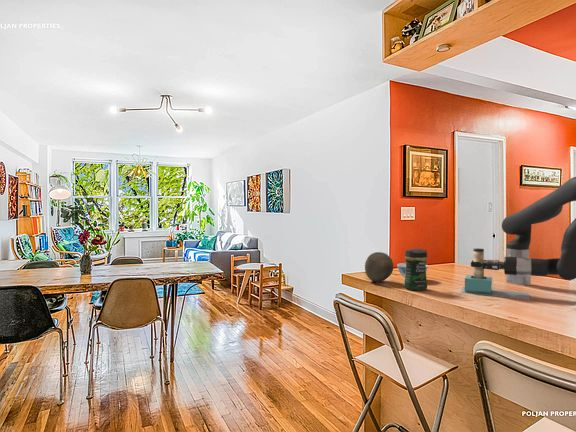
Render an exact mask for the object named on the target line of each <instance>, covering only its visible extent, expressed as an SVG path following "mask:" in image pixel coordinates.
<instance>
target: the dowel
mask: <svg viewBox="0 0 576 432" xmlns="http://www.w3.org/2000/svg"><path fill="white" fill-rule="evenodd" d="M484 255H485V249H484V248H473V255H472V256H473V262H484V260H485V256H484ZM472 268H473V269H472V270H473V272H472V273H473V274H472V275H473V278H476V279H484V276H485V269H482V268H481V267H472Z"/></svg>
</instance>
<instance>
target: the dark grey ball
mask: <svg viewBox="0 0 576 432" xmlns="http://www.w3.org/2000/svg"><path fill="white" fill-rule="evenodd" d="M364 271H365V274H366V276H367V278H368V279H369V280H370V281H372V282H374V283H380V282H381V283H382V282H384V281H385V280H386V281H387V279H388V278H390V277H391V275H392V274H393V271H394V262H393V259H392V258H391V256H389V255H388V253H386V252H381V251H377V252H373V253H371V254H369V255H368V257H367V258H366V260H365V263H364Z"/></svg>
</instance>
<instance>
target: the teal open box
mask: <svg viewBox="0 0 576 432" xmlns="http://www.w3.org/2000/svg"><path fill="white" fill-rule="evenodd" d="M464 287H465V292H466V293H465V294H467V293H476V294H475V295H477V294H486V295H485V296H488V295H491V294H492V290H493V276H489V275H484V279H476V278H473V274H466V275H465V277H464Z"/></svg>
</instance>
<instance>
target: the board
mask: <svg viewBox="0 0 576 432" xmlns="http://www.w3.org/2000/svg"><path fill="white" fill-rule="evenodd" d="M460 294H466V295H467V294H469V295H480V296H489V297H501V298H511V299H519V300H520V299H521V300H530V301H531V296H530V293H529V292H525V291H523V292H522V291H511V290H510V291H509V290H502V289H501V290H499V289H492V294H491V295H486V294H476V293H466V292H465V286H464V287H463V288H462V289H461V291H460Z"/></svg>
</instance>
